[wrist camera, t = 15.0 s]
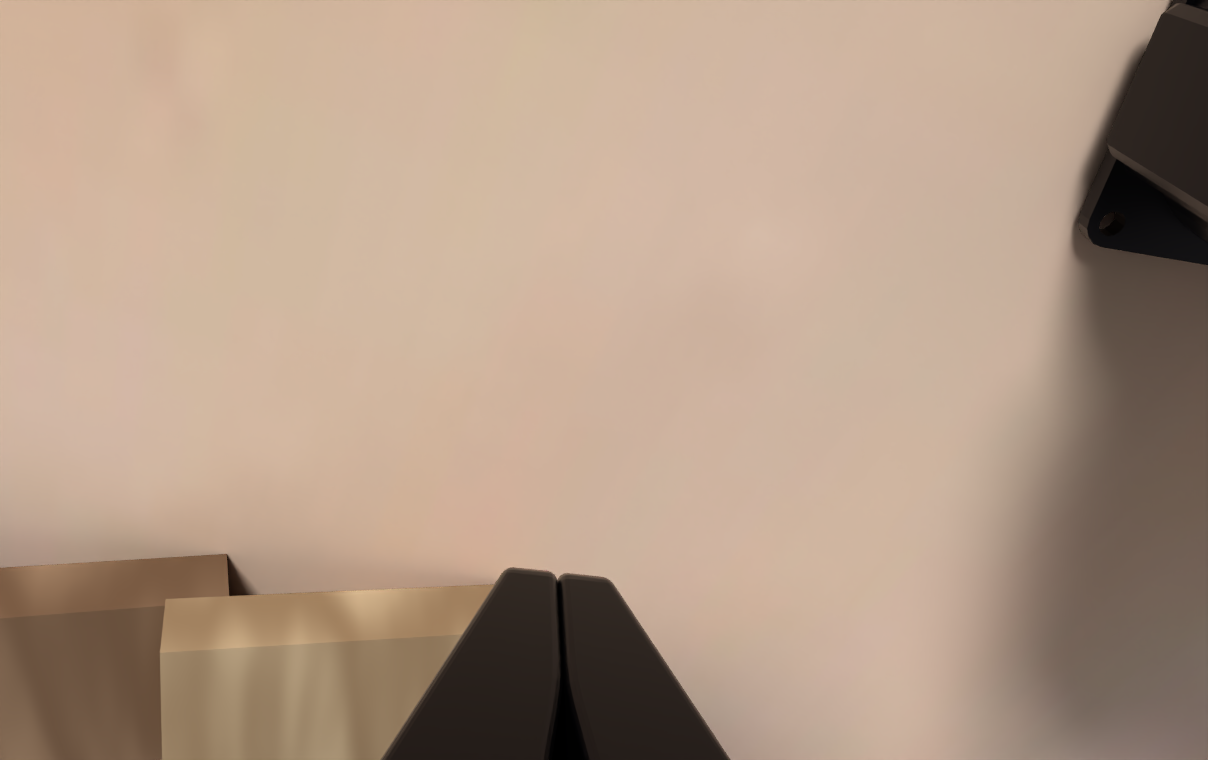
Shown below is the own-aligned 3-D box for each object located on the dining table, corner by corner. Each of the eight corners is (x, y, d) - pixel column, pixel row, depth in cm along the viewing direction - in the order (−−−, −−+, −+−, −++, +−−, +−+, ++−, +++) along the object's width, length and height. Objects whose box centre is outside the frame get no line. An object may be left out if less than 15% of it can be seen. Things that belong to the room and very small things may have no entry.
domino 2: (533, 630, 24) (159, 652, 21) (501, 773, 26) (163, 809, 23) (519, 583, 25) (165, 598, 22) (489, 723, 27) (168, 753, 25)
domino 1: (229, 601, 23) (-209, 634, 20) (224, 751, 25) (-168, 803, 22) (226, 554, 24) (-186, 579, 21) (222, 701, 26) (-149, 743, 23)
